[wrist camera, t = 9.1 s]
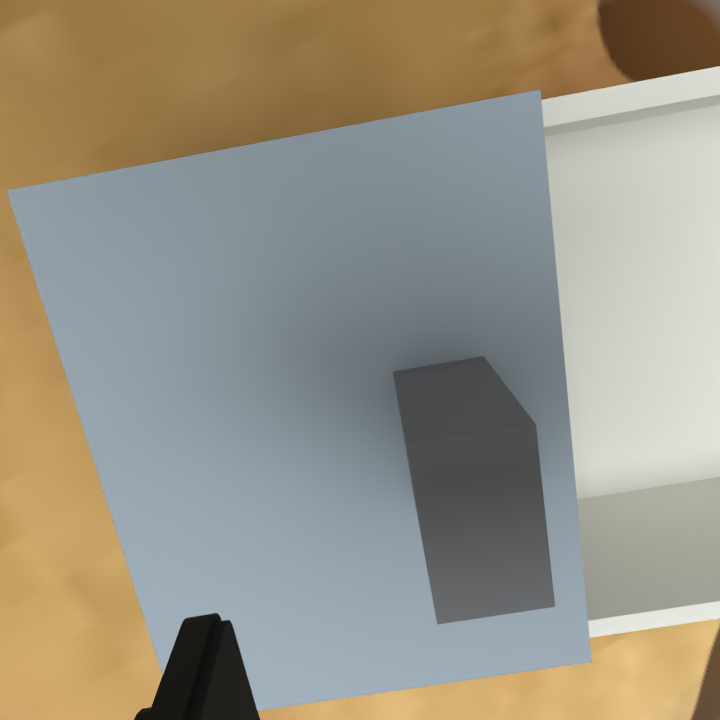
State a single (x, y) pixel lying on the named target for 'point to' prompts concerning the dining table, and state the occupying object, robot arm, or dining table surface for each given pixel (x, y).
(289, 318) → the carton lid
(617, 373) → the carton
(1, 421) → the dining table surface
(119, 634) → the dining table surface
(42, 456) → the dining table surface
